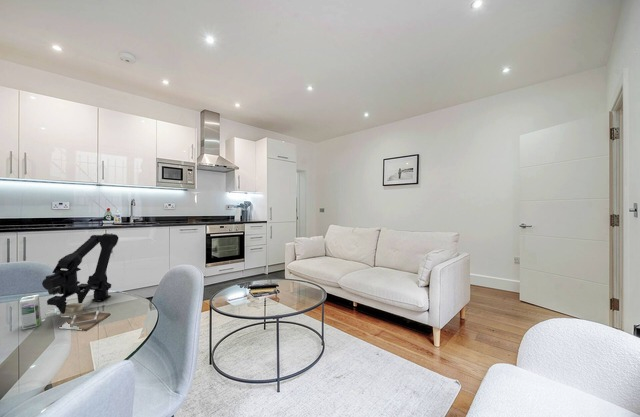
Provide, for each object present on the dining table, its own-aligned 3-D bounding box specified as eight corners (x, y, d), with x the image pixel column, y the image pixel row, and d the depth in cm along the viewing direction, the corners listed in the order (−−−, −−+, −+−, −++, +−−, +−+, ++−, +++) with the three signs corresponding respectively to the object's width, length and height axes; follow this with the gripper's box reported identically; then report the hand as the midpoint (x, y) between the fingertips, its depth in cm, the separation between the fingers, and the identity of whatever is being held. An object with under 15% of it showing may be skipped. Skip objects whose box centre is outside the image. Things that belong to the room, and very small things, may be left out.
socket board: (84, 312, 139) (84, 308, 138) (110, 314, 139) (110, 310, 138) (58, 328, 125) (57, 323, 125) (86, 331, 125) (86, 326, 124)
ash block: (71, 311, 140) (71, 302, 139) (82, 311, 140) (82, 303, 139) (60, 317, 134) (60, 308, 133) (72, 318, 134) (71, 309, 133)
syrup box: (22, 330, 122) (19, 301, 120) (24, 324, 126) (21, 296, 124) (39, 326, 126) (37, 298, 124) (41, 320, 130) (39, 293, 128)
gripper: (72, 272, 144) (73, 298, 146) (34, 288, 125) (37, 317, 127) (91, 274, 143) (93, 300, 146) (57, 289, 125) (59, 319, 127)
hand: (71, 308), depth 137 cm, fingers open, 9 cm apart
